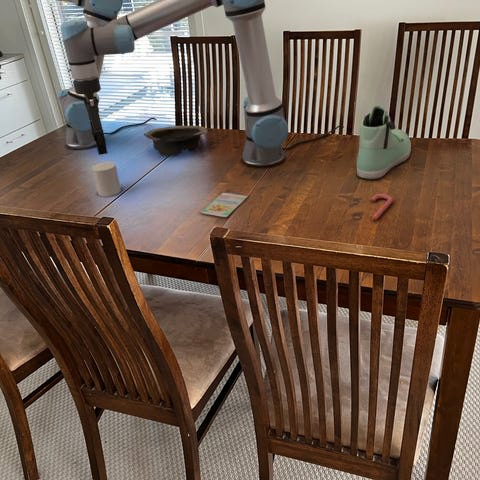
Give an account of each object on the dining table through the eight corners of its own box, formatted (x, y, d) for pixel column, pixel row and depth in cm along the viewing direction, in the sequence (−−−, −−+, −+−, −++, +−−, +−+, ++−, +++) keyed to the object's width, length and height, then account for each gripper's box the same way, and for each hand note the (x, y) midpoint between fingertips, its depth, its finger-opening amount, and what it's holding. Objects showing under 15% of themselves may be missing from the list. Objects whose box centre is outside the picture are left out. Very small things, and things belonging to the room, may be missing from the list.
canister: (98, 188, 163) (92, 163, 158) (120, 185, 165) (115, 160, 160) (98, 198, 157) (91, 172, 152) (121, 194, 158) (115, 168, 154)
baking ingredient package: (199, 211, 142) (223, 191, 153) (199, 213, 142) (223, 192, 154) (226, 216, 138) (248, 195, 150) (226, 217, 139) (248, 196, 150)
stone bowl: (160, 165, 176) (155, 140, 172) (140, 150, 196) (135, 128, 192) (220, 149, 185) (217, 125, 181) (195, 136, 205) (192, 115, 201)
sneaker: (416, 146, 176) (423, 89, 165) (393, 183, 150) (400, 120, 140) (378, 142, 182) (383, 87, 171) (351, 177, 156) (354, 116, 146)
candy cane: (355, 217, 134) (355, 212, 134) (376, 195, 144) (376, 191, 144) (376, 222, 131) (376, 217, 130) (395, 199, 141) (396, 195, 141)
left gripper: (-89, 21, 150) (-62, 90, 161) (-3, 12, 158) (17, 78, 169) (-85, 19, 156) (-60, 85, 167) (-3, 10, 163) (16, 74, 175)
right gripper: (70, 72, 150) (85, 137, 161) (75, 89, 130) (92, 162, 141) (94, 68, 152) (108, 133, 163) (103, 85, 132) (118, 157, 143)
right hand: (100, 147), depth 152 cm, fingers open, 13 cm apart
